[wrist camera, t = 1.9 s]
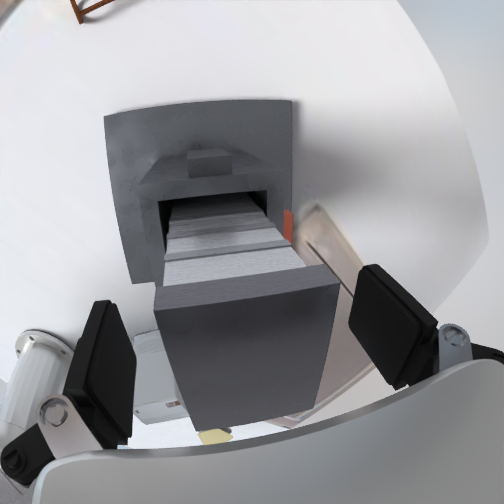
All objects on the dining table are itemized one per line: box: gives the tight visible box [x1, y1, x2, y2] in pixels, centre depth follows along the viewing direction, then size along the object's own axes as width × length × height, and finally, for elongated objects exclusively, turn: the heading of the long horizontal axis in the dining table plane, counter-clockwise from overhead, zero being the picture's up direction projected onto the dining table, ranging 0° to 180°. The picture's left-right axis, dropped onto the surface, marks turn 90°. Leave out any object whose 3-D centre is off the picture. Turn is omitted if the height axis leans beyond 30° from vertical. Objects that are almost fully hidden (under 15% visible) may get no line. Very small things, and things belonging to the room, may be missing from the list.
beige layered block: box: [198, 427, 233, 445], centre depth 43 cm, size 10×9×6 cm
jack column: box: [153, 192, 341, 431], centre depth 17 cm, size 6×5×21 cm
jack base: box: [104, 100, 293, 287], centre depth 22 cm, size 18×18×14 cm
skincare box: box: [133, 330, 190, 425], centre depth 30 cm, size 6×4×12 cm
